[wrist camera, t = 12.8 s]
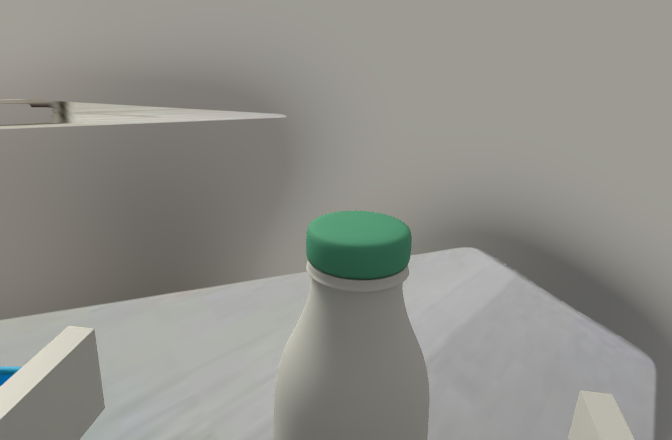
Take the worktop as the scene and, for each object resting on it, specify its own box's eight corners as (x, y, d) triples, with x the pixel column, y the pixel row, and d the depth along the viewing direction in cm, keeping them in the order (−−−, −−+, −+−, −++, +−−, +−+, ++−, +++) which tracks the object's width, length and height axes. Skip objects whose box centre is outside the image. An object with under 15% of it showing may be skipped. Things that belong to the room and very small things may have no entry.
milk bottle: (427, 628, 27) (472, 260, 20) (271, 634, 27) (264, 260, 20) (400, 500, 34) (427, 198, 28) (277, 503, 34) (274, 196, 27)
